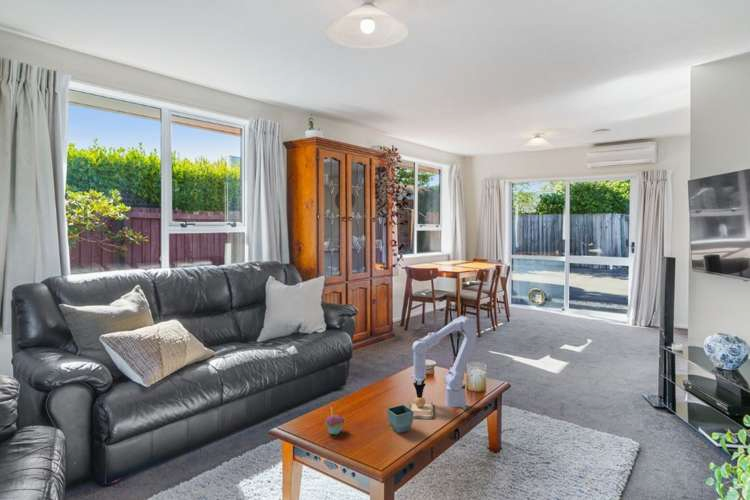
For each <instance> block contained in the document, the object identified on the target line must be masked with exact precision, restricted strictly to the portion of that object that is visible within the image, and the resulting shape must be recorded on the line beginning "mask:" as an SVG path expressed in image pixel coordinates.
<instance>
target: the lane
mask: <svg viewBox="0 0 750 500" xmlns="http://www.w3.org/2000/svg"><path fill="white" fill-rule="evenodd" d="M409 409H411V410H413V411H417V412H419V411H420V412H431V403H430V404H427V403H425V405H424V406H423V407H417V406H416V404H415V403H410V405H409Z"/></svg>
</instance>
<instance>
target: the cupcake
mask: <svg viewBox="0 0 750 500" xmlns="http://www.w3.org/2000/svg"><path fill="white" fill-rule="evenodd" d="M344 425H345V419H344V417H343V416H341V415H339V414H334V411H333V407H330V415H329V416H327V417H326V418H325V419H324V426H325V427H326V428H327V429H328V430H327V431H328V434H330V435H333V434H335V435H339V434H340V433H341V431H342V428H343V426H344ZM338 433H339V434H338Z"/></svg>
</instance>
